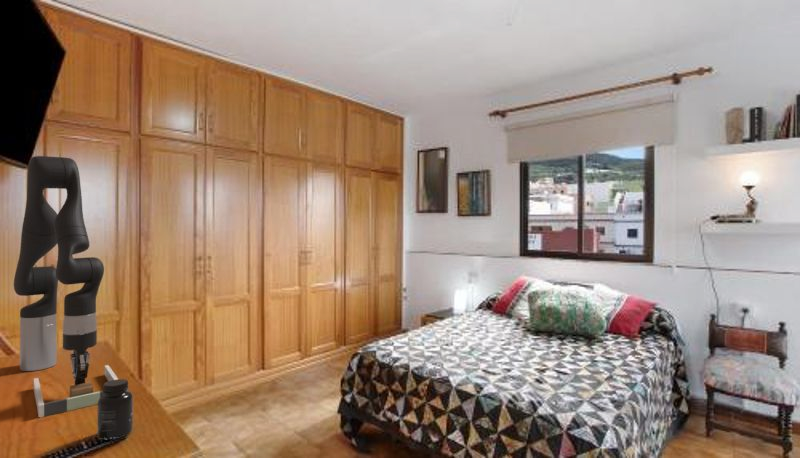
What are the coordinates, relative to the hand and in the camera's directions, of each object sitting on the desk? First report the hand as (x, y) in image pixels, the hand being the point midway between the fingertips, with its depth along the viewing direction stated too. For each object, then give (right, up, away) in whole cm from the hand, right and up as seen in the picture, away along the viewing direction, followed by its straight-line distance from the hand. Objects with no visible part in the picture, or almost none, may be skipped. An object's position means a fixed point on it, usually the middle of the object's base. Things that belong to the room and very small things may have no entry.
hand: (79, 392), depth 117 cm
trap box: (-3, -1, +3) cm, 4 cm away
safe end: (+5, -2, -6) cm, 8 cm away
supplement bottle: (+23, -3, -19) cm, 30 cm away
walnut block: (+3, -2, -3) cm, 5 cm away
